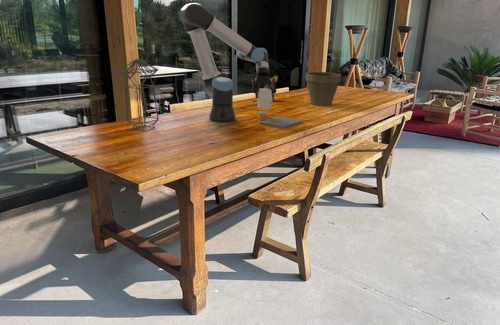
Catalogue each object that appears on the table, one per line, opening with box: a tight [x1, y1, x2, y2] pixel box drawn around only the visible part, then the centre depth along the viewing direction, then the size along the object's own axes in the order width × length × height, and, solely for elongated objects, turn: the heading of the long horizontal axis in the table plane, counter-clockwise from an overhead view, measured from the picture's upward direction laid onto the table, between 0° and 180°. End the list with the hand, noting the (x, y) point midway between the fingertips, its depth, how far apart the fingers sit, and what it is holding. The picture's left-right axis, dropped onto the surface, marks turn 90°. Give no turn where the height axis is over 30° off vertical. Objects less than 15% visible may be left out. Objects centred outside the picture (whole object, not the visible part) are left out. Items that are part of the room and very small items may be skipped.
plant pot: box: [305, 71, 342, 107], centre depth 280 cm, size 25×25×22 cm
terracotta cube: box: [257, 111, 267, 121], centre depth 230 cm, size 4×4×4 cm
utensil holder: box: [263, 75, 279, 102], centre depth 292 cm, size 9×14×18 cm, turn 138°
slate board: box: [259, 116, 304, 129], centre depth 222 cm, size 20×16×1 cm
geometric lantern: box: [117, 58, 160, 132], centre depth 197 cm, size 16×16×35 cm
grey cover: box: [257, 87, 272, 109], centre depth 227 cm, size 7×7×10 cm
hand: (265, 102), depth 224 cm, fingers closed on grey cover, 7 cm apart
